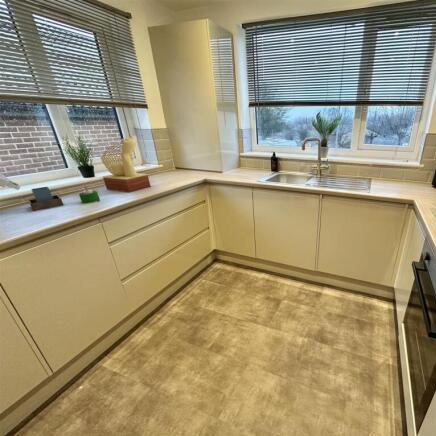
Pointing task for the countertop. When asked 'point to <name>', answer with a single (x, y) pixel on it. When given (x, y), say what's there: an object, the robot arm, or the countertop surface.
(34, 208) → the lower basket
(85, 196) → the candle
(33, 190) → the grey rectangular block
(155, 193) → the countertop surface
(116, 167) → the cream sculpture
